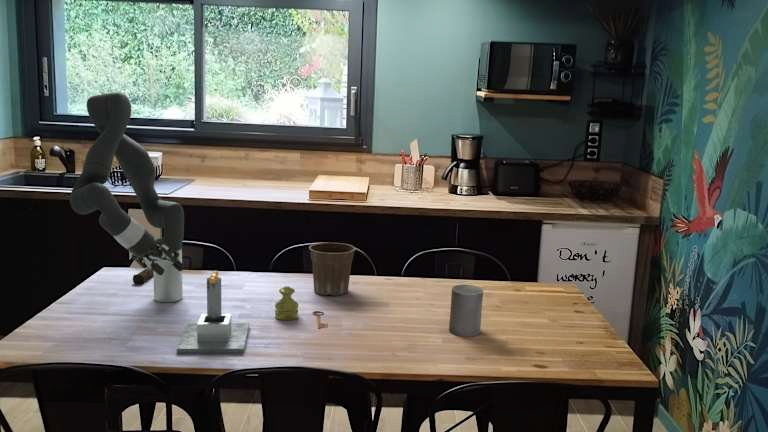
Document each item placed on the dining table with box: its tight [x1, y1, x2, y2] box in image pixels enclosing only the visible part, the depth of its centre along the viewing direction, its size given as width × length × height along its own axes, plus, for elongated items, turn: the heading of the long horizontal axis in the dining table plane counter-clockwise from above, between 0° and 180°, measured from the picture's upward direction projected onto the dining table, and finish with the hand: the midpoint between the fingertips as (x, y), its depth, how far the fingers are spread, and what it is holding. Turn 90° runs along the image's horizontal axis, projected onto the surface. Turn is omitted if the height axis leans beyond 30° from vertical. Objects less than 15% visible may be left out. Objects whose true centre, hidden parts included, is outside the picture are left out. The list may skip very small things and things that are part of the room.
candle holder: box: [176, 313, 250, 355], centre depth 210 cm, size 20×18×6 cm
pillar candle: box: [448, 284, 484, 338], centre depth 224 cm, size 10×10×15 cm
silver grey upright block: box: [206, 270, 223, 322], centre depth 209 cm, size 9×4×18 cm, turn 6°
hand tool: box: [132, 267, 154, 285], centre depth 268 cm, size 19×4×5 cm, turn 171°
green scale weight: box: [274, 285, 299, 322], centre depth 232 cm, size 7×7×10 cm
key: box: [312, 310, 329, 330], centre depth 231 cm, size 6×1×15 cm
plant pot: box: [308, 242, 356, 297], centre depth 259 cm, size 16×16×16 cm
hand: (172, 271), depth 214 cm, fingers open, 8 cm apart
